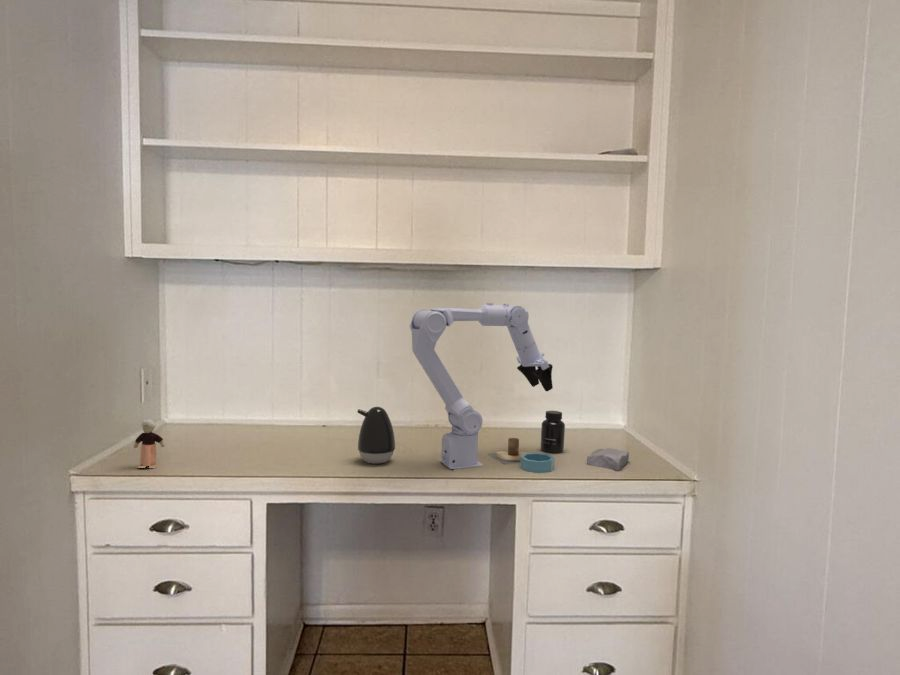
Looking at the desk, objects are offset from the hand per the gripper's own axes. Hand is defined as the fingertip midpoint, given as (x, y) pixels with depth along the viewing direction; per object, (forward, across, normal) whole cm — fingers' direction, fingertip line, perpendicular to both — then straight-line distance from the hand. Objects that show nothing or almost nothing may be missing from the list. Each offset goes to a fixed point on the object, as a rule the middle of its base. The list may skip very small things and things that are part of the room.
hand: (542, 387), depth 176 cm
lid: (+14, 0, +16) cm, 21 cm away
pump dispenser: (-2, +9, +50) cm, 51 cm away
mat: (+14, 0, +16) cm, 22 cm away
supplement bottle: (+21, +3, +4) cm, 21 cm away
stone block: (+24, -12, -4) cm, 28 cm away
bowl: (+15, -11, +15) cm, 24 cm away
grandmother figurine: (-27, +21, +102) cm, 107 cm away
